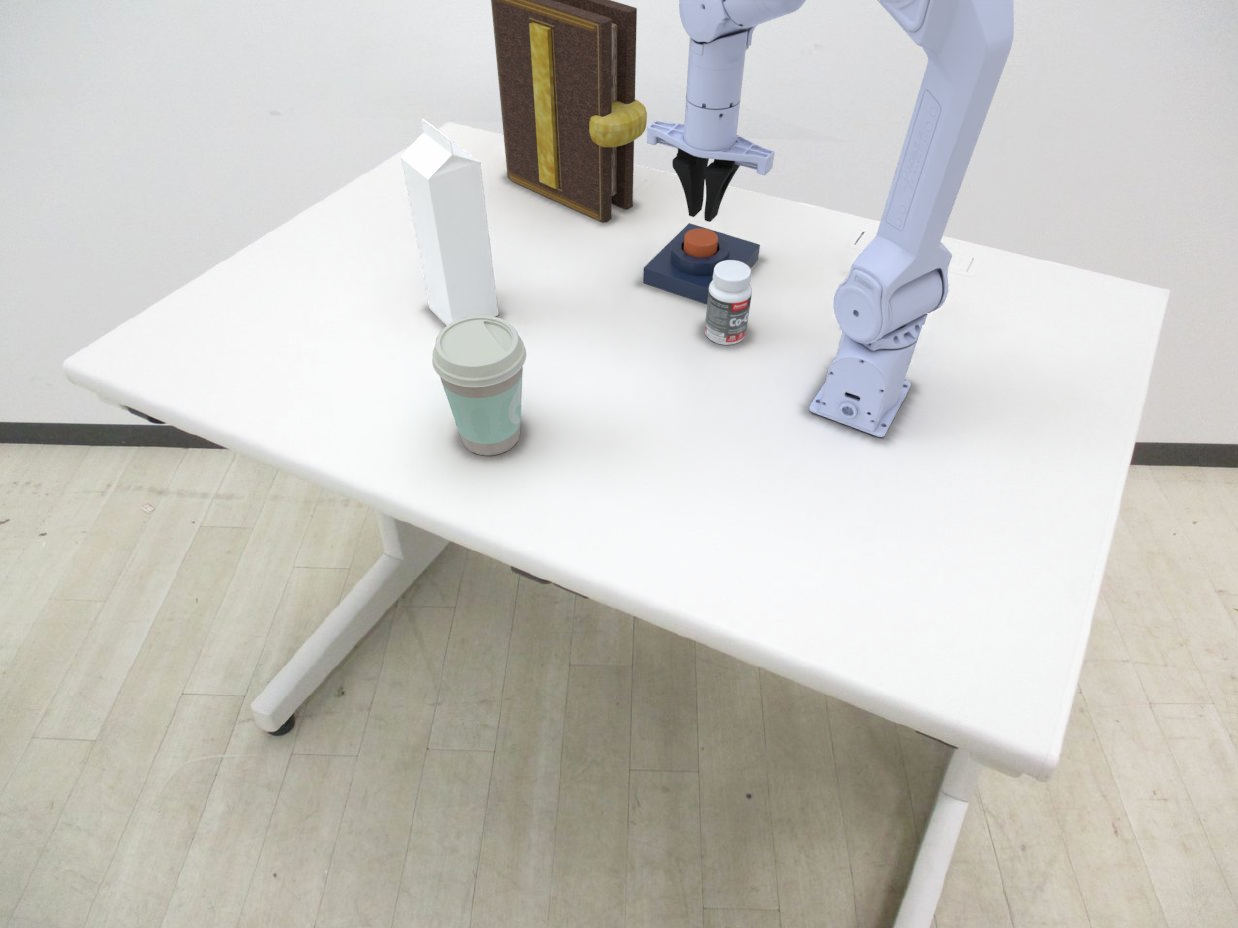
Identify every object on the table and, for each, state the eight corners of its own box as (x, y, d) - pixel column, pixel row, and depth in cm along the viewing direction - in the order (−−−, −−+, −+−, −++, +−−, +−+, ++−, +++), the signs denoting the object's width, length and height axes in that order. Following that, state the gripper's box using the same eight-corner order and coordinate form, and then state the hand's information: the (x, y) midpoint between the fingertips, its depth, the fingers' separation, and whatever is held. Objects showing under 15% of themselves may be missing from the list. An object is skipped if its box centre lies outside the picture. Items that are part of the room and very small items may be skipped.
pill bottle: (731, 351, 94) (740, 288, 88) (696, 335, 96) (702, 272, 90) (753, 330, 97) (763, 268, 91) (718, 315, 99) (725, 253, 93)
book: (496, 180, 121) (476, -12, 103) (538, 158, 125) (526, -29, 107) (614, 234, 111) (615, 32, 93) (654, 208, 115) (663, 11, 97)
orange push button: (707, 262, 100) (708, 249, 99) (677, 253, 101) (678, 240, 100) (722, 246, 102) (723, 234, 101) (692, 237, 104) (693, 225, 103)
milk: (454, 334, 96) (421, 149, 80) (428, 309, 99) (392, 126, 83) (500, 315, 99) (477, 131, 83) (473, 290, 102) (447, 109, 86)
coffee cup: (529, 466, 82) (519, 371, 73) (441, 465, 82) (420, 369, 73) (537, 407, 88) (528, 312, 79) (455, 405, 88) (437, 310, 79)
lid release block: (716, 308, 100) (719, 279, 97) (642, 283, 103) (643, 254, 100) (758, 259, 107) (762, 231, 104) (687, 237, 110) (690, 210, 108)
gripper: (792, 99, 89) (774, 216, 98) (670, 70, 94) (664, 184, 103) (765, 125, 84) (749, 244, 94) (638, 93, 89) (636, 210, 99)
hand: (703, 215), depth 99 cm, fingers closed
